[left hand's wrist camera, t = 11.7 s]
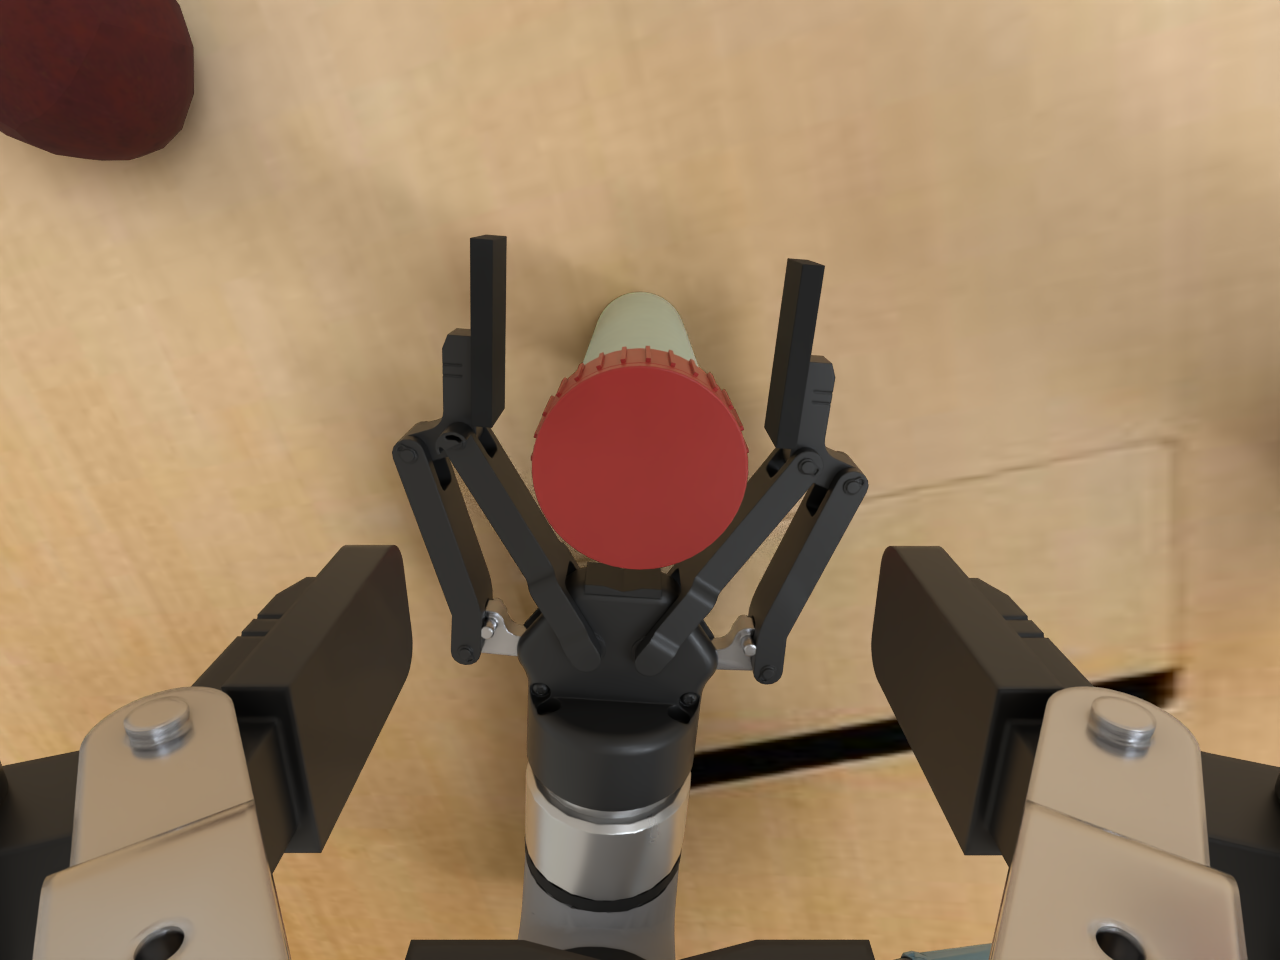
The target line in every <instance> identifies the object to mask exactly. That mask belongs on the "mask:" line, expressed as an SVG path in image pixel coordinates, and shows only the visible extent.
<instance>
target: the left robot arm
mask: <svg viewBox="0 0 1280 960" xmlns="http://www.w3.org/2000/svg"><path fill="white" fill-rule="evenodd" d="M871 650H872V661H873V667H874V671H875V674H876V677H877V680H878V682H879V684H880V686H881V688H882V690H883V692H884V694H885V696H886V698H887V700H888V702H889V704H890V706H891V708H892V710H893V712H894V714H895V716H896V718H897V720H898V722H899V724H900V726H901V728H902V730H903V732H904V734H905V736H906V738H907V740H908V742H909V744H910V746H911V748H912V750H913V752H914V754H915V756H916V758H917V760H918V762H919V764H920V766H921V768H922V770H923V772H924V774H925V776H926V778H927V781H928V783H929V785H930V787H931V789H932V791H933V793H934V795H935V797H936V799H937V801H938V803H939V805H940V807H941V809H942V811H943V813H944V815H945V817H946V819H947V821H948V823H949V825H950V827H951V829H952V831H953V833H954V835H955V837H956V839H957V841H958V843H959V845H960V847H961V849H962V851H963V853H964V855H1002V856H1003V857H1004V859H1005V861H1006V863H1007V865H1008V866H1009V869H1008V874H1007V878H1006V883H1005V887H1004V891H1003V896H1002V900H1001V905H1000V909H999V914H998V919H997V923H996V928H995V932H994V937H993V941H992V946H991V950H990V955H989V960H1280V767H1276V766H1271V765H1266V764H1261V763H1256V762H1251V761H1246V760H1241V759H1236V758H1231V757H1226V756H1221V755H1216V754H1211V753H1206V752H1202V751H1200V747H1199V744H1198V742H1197V740H1196V738H1195V737H1194V735H1193V734H1192V733H1191V732H1190V731H1189V729H1188V728H1187V727H1186V726H1184V725H1183V724H1182V723H1181V722H1180V721H1179V720H1177V719H1176V718H1175V717H1173V716H1172V715H1171V714H1169V713H1167V712H1166V711H1164V710H1162V709H1161V708H1159V707H1157V706H1155V705H1153V704H1151V703H1149V702H1147V701H1144V700H1142V699H1139V698H1137V697H1134V696H1131V695H1128V694H1125V693H1122V692H1118V691H1114V690H1110V689H1104V688H1098V687H1093V685H1092V684H1091V683H1090V682H1089V681H1088V680H1087V679H1086V678H1085V677H1084V676H1083V675H1082V674H1081V673H1080V672H1079V671H1078V669H1077V668H1076V667H1075V666H1074V665H1073V664H1072V663H1071V662H1070V661H1069V660H1068V659H1067V658H1066V657H1065V656H1064V655H1063V653H1062V652H1061V651H1060V650H1059V649H1058V648H1057V647H1056V646H1055V645H1054V644H1053V643H1052V642H1051V641H1050V640H1049V638H1044V633H1043V632H1042V631H1041V630H1040V629H1039V628H1038V627H1037V626H1036V625H1035V624H1034V622H1033V621H1032V620H1028V616H1027V615H1026V614H1025V613H1024V612H1023V611H1022V610H1021V609H1020V608H1019V606H1018V605H1017V604H1016V603H1015V602H1014V601H1013V600H1012V599H1011V598H1010V597H1009V596H1008V595H1006V594H1005V593H1003V592H1001V591H999V590H998V589H996V588H994V587H992V586H991V585H989V584H987V583H985V582H984V581H982V580H980V579H978V578H968V577H967V575H966V574H965V573H964V572H963V571H962V570H961V569H960V567H959V566H958V565H957V564H956V563H955V562H954V561H953V559H952V558H951V557H950V556H949V555H948V554H947V553H946V551H945V550H944V549H943V548H942V547H940V546H889V547H887V548H886V549H885V551H884V554H883V556H882V561H881V567H880V575H879V583H878V591H877V599H876V607H875V615H874V623H873V631H872V641H871ZM411 659H412V631H411V622H410V614H409V606H408V598H407V590H406V582H405V574H404V566H403V559H402V555H401V552H400V550H399V548H398V547H397V546H395V545H345V546H343V547H342V548H341V549H340V550H339V551H338V552H337V553H336V554H335V556H334V557H333V558H332V559H331V560H330V561H329V563H328V564H327V565H326V566H325V567H324V568H323V569H322V571H321V572H320V573H319V574H318V575H317V576H316V577H306V578H304V579H302V580H301V581H299V582H297V583H296V584H294V585H292V586H290V587H289V588H287V589H285V590H283V591H282V592H280V593H278V594H276V596H275V597H274V598H273V599H272V600H271V601H270V602H269V603H268V604H267V605H266V606H265V607H264V608H263V610H262V611H261V612H260V613H259V614H258V618H257V619H253V620H252V621H251V622H250V624H249V625H248V626H247V627H246V628H245V629H244V630H243V631H242V636H237V638H236V639H235V640H234V641H233V642H232V643H231V644H230V645H229V646H228V647H227V648H226V649H225V651H224V652H223V653H222V654H221V655H220V656H219V657H218V658H217V659H216V660H215V661H214V662H213V663H212V665H211V666H210V667H209V668H208V669H207V670H206V671H205V672H204V673H203V674H202V675H201V676H200V677H199V679H198V680H197V681H196V682H195V683H194V684H193V685H192V686H191V687H182V688H176V689H170V690H166V691H162V692H158V693H155V694H152V695H149V696H146V697H143V698H141V699H138V700H136V701H133V702H131V703H129V704H127V705H125V706H123V707H121V708H119V709H118V710H116V711H114V712H113V713H111V714H109V715H108V716H107V717H105V718H104V719H103V720H101V721H100V722H99V723H98V724H97V725H96V726H94V727H93V728H92V729H91V731H90V732H89V733H88V734H87V735H86V737H85V738H84V740H83V742H82V744H81V747H80V751H75V752H70V753H65V754H60V755H55V756H50V757H45V758H40V759H35V760H30V761H25V762H20V763H15V764H10V765H5V766H2V764H1V761H0V960H291V955H290V950H289V946H288V941H287V937H286V932H285V928H284V923H283V919H282V914H281V909H280V905H279V900H278V896H277V891H276V887H275V883H274V878H273V872H274V870H275V868H276V866H277V864H278V863H279V861H280V859H281V857H282V855H283V854H284V853H321V852H322V850H323V848H324V846H325V844H326V842H327V840H328V838H329V836H330V834H331V832H332V830H333V827H334V825H335V823H336V821H337V819H338V817H339V815H340V813H341V811H342V809H343V807H344V805H345V803H346V801H347V799H348V797H349V795H350V793H351V791H352V789H353V787H354V785H355V783H356V781H357V779H358V776H359V774H360V772H361V770H362V768H363V766H364V764H365V762H366V760H367V758H368V756H369V754H370V752H371V750H372V748H373V746H374V744H375V742H376V740H377V738H378V736H379V734H380V732H381V730H382V728H383V726H384V723H385V721H386V719H387V717H388V715H389V713H390V711H391V709H392V707H393V705H394V703H395V701H396V699H397V697H398V695H399V693H400V691H401V689H402V687H403V685H404V683H405V681H406V678H407V676H408V673H409V669H410V665H411ZM405 960H600V959H596V958H592V957H588V956H584V955H580V954H576V953H573V952H569V951H565V950H561V949H557V948H553V947H549V946H546V945H542V944H538V943H534V942H530V941H526V940H411V942H410V945H409V948H408V952H407V955H406V958H405ZM680 960H875V958H874V955H873V952H872V948H871V945H870V942H869V940H754V941H750V942H746V943H742V944H738V945H734V946H731V947H727V948H723V949H719V950H715V951H711V952H707V953H704V954H700V955H696V956H692V957H688V958H684V959H680Z"/></svg>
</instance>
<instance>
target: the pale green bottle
mask: <svg viewBox="0 0 1280 960" xmlns="http://www.w3.org/2000/svg"><path fill="white" fill-rule="evenodd" d="M625 346H626V347H627V349H635V348H645V347H646V346H650V349H656V350H661V351H666V352H668V351H669V350H672V351H673V353H674V354H675V355H678V356H680V357H682V358H684V359H686V360H688V361H689V360H690V359H692V360H694V361H695V364H696V366H698V364H697V361H696V358H695V355H694V353H693V350H692V347H691V344H690V341H689V339H688V336H687V333H686V330H685V327H684V324H683V322H682V319H681V317H680V315H679V314H678V312H677V310H676V309H675V308H674V307H673V306H672V305H671V304H670V303H669V302H668V301H666V300H665V299H664V298H662V297H660V296H658V295H655V294H652V293H647V292H633V293H628V294H625V295H622V296H620V297H618V298H616V299H615V300H614V301H612V302H611V303H610V304H609V305H608V306H607V307H606V308H605V309H604V310H603V312H602V313H601V315H600V317H599V319H598V322H597V324H596V327H595V330H594V333H593V336H592V338H591V341H590V344H589V347H588V350H587V352H586V355H585V358H584V361H583V364H584V365H585V364H587V363H588V362H590V361H592V360H594V359H596V358H598V357H599V354H600V353H602V352H604V354H608V353H611V352H614V351H619V350H622V347H625Z"/></svg>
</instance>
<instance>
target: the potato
mask: <svg viewBox="0 0 1280 960" xmlns="http://www.w3.org/2000/svg"><path fill="white" fill-rule="evenodd" d="M193 94H194V60H193V44H192V41H191V38H190V35H189V32H188V29H187V26H186V23H185V20H184V17H183V14H182V11H181V8H180V5H179V4H178V2H177V1H176V0H0V131H1V132H3V133H4V134H5V135H7V136H10V137H12V138H15V139H17V140H20V141H22V142H25V143H27V144H30V145H32V146H35V147H38V148H40V149H43V150H45V151H48V152H50V153H53V154H56V155H63V156H70V157H77V158H84V159H93V160H131V159H135V158H138V157H141V156H144V155H147V154H149V153H152V152H154V151H157V150H160V149H162V148H164V147H165V146H166V145H167V144H168V143H169V142H170V141H171V140H172V139H173V138H174V137H175V136H176V135H177V133H178V132H179V131H180V130H181V129H182V127H183V124H184V121H185V118H186V115H187V112H188V109H189V106H190V103H191V100H192V97H193Z"/></svg>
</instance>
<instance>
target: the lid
mask: <svg viewBox="0 0 1280 960" xmlns="http://www.w3.org/2000/svg"><path fill="white" fill-rule="evenodd" d="M742 430H744V428H743V426H742V423H741V421H740V419H739V417H738V415H737V413H736V410H735V409H734V407H733V405H732V403H731V401H730V399H729V397H728V394H727V392H726V391H725V389H723V390H722V391H721V389H720V388H719V386H718V385H717V384H716V382H715V380H714V377H713V375H712V374H711V373H710V372H709V373H708V374H706V373H705V372H704V371H703V370H702V369H701V368H699V367H698V366H696V364H695V361H694V360H692V359H690V360H689V361H688V360H686V359H684V358H682V357H680V356H678V355H675V354H674V353H673V351H672V350H669V351H668V352H666V351H661V350H656V349H650V346H646V347H645V348H635V349H627V347H626V346H625V347H622V350H619V351H614V352H611V353H608V354H604V352H602V353H600V354H599V357H598V358H596V359H594V360H592V361H590V362H588V363H587V364H585V365H584V364H583V363H581V364H580V365H579V367H578V370H577V371H576V372H575V373H573V374H572V375H571V376H570V377H569V378H568V379H567V378H564V379H563V380H562V382H561V385H560V387H559V389H558V391H557V394H556V395H555V397H554V396H551V397H550V399H549V401H548V403H547V406H546V408H545V410H544V412H543V414H542V419H541V421H540V423H539V425H538V427H537V430H536V432H535V434H534V438H536V441H535V445H534V450H533V453H532V455H531V461H532V478H533V486H534V490H535V494H536V497H537V500H538V503H539V505H540V507H541V510H542V512H543V513H544V515H545V517H546V519H547V520H548V522H549V523H550V525H551V526H552V527H553V529H554V530H555V531H556V532H557V533H558V534H559V535H560V536H561V537H562V538H563V539H564V540H565V541H566V542H567V543H568V544H569V545H571V546H572V547H573V548H574V549H576V550H577V551H579V552H580V553H582V554H584V555H586V556H587V557H589V558H591V559H594V560H596V561H598V562H600V563H604V564H607V565H610V566H614V567H619V568H625V569H639V570H641V569H655V568H660V567H666V566H670V565H673V564H676V563H679V562H682V561H684V560H686V559H689V558H691V557H693V556H694V555H696V554H698V553H699V552H701V551H703V550H704V549H705V548H707V547H708V546H709V545H711V544H712V543H713V542H714V541H715V540H716V539H717V538H718V537H719V536H720V535H721V534H722V533H723V532H724V531H725V530H726V528H727V527H728V526H729V525H730V523H731V522H732V520H733V518H734V517H735V515H736V513H737V512H738V510H739V507H740V505H741V502H742V500H743V497H744V493H745V490H746V486H747V478H748V457H747V453H749V450H748V447H747V445H746V442H745V440H744V438H743V435H742V432H741V431H742Z"/></svg>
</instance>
